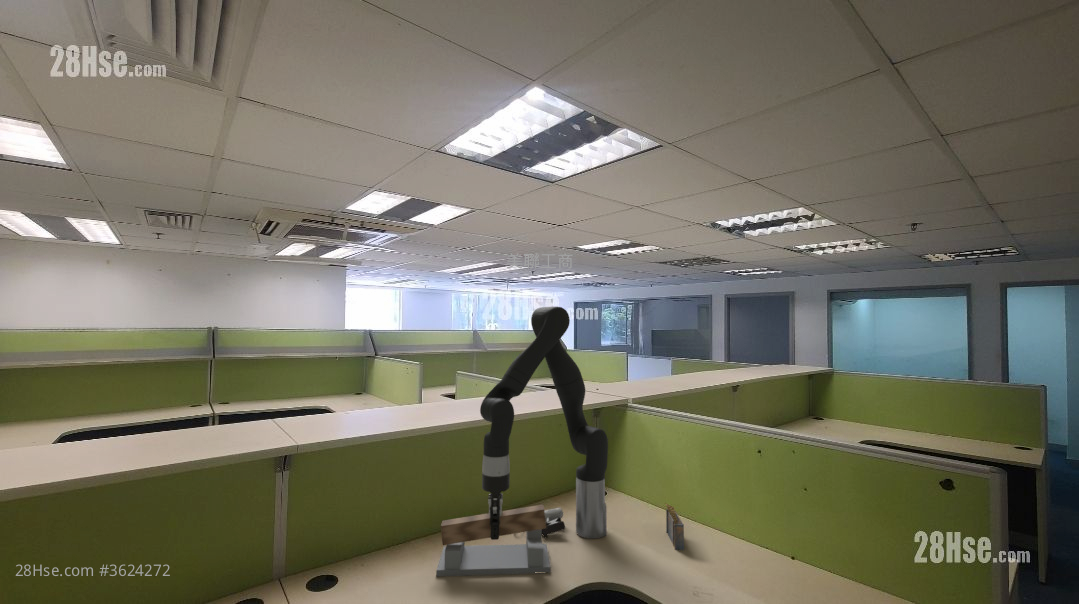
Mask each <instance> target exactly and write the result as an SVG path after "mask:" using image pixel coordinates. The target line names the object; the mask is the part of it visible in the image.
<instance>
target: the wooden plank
mask: <svg viewBox="0 0 1079 604" xmlns="http://www.w3.org/2000/svg"><path fill="white" fill-rule="evenodd" d="M544 510H545V507H544V504H537V505H531V506H526V507H518V508H514V509H513V508H512V509H507V510H502V514H501V516H500V525H499V537H502V536H509V535H513V534H519V533H520V534H521V533H526V532H527V531H533V530H539V529H545V528H546V520H545V512H544ZM492 520H497V519H492ZM440 532H441V533H440V534H441V541H442V546H447V545H448V544H454V543H460V542H465V543H466V542H471V541H477V540H484V539H489V538H490V539H491V526H490V516H489V512H488V513H482V514H477V515H470V516H463V517H456V518H451V519H446V520H445V519H444V520H442V522H441V524H440Z"/></svg>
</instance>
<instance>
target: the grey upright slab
mask: <svg viewBox="0 0 1079 604" xmlns="http://www.w3.org/2000/svg"><path fill="white" fill-rule="evenodd" d="M664 504H665V506H666V507H667V508H666V509H665V510H666V511H665V516H666V518H665V519H666V531H665V532H666V533H667V537H668V539H669V540H670V542H671V543H672V547H673V548H674V550H677V551H685V536H684V535H685V531H684V528H685V527H684V523H683V521H682V520H681V517H680V516H679V514H678V513H677V512H676V510H675V507H674V506H672V505H669V504H668V503H666V502H664Z"/></svg>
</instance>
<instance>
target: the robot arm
mask: <svg viewBox="0 0 1079 604" xmlns="http://www.w3.org/2000/svg"><path fill="white" fill-rule="evenodd" d="M530 320H531V321H530V323H531V327H532V331H533V333H534V335H535V338H534V340H533V341H532V342H531V343H530V344H529V345H528V346H527V347H526V348H525V349H524V350H522V352H521V353H520V354H519V355H517V356H516V358H515V359H514V360H513V361H512V362H511V364H509V366H508V368H507V370H506V372H505V373H504V374H503V376H502V378H501V380H500V381H499V382H498V383H496V385H494V387H493V388H491V390H490V391H489V392H488V393H487V394H486V396H485V397H484V399H483V400H482V402H481V405H480V410H479V411H480V416H481V418H482V419H483V420H484V421H486V422H489V423H491V424H490V430H489V431H488V432H487V433H485V434H484V436H483V457H482V462H481V463H482V464H481V466H482V471H481V472H482V473H481V476H482V477H481V478H482V479H481V488H482V490H483V491H485V492H488V498H487V504H488V513H489V516H490V526H491V538H490V540H492V541H494V540H495V541H497V540H499V538H500V536H499V525H500V516H501V514H502V511H503V510H502V509H503V502H504V501H503V499H504V494H503V493H502V492H506V491H508V490H509V488H510V482H511V481H510V477H511V476H510V474H511V473H510V471H511V470H510V469H511V466H510V463H511V462H510V461H511V460H510V438H511V437H510V436H511V433H512V430H513V429H512V428H513V425H514V420H515V409H514V405H513V404H512V402H511V400H512V399H513V398H516V397H519V396H520V395H521V394H522V393H523V391H524V390H525V388H526V387H527V385H528V383H529V382H530V380H531V378H532V377H533V375H534V373H535V372H536V370H537V368H538V367H539V366H540V364H542V362H543V360H544V359H545V361H546V364H547V367H548V369H549V372H550V374H551V375H550V376H551V379H552V382H553V385H554V388H555V391H556V394H557V397H558V399H559V401H560V405H561V409H562V411H563V415H564V418H565V422H566V427H567V431H568V435H569V440H570V443H571V446H572V448H573V449H574V450H575V452H576V453H579V454H581V455H584V456H585V463H584V464H581V465H579V466H577V467H576V469H575V470H576V473H575V533H576V534H577V535H578V536H580V537H582V538H585V539H594V540H595V539H599V538H603V537H607V532H608V531H607V526H608V525H607V524H608V523H607V518H608V517H607V503H606V499H605V498H606V483H605V482H606V481H605V480H606V479H605V478H606V471H607V468H608V455H609V438H608V435H607V433H606V432H605V430H604V429H601V428H599V427H596V426H591V425H589V424H588V422H587V420H586V417H585V414H584V410H583V407H584V406H583V405H584V403H585V402H584V401H585V397H586V386H585V382H584V379H583V376H582V372H581V371H580V370H581V369H580V368H579V366H578V365H577V362H575V361H574V359H573V358H572V357H571V356H570V354H569V353H568V352H567V350H566V349H565V348H564V346H563V345H562V343H561V338H562V337H563V336H564V335H565V334H566V332H567V330H568V329H569V326H570V316H569V313H568V311H567V310H566V308H563V307H562V306H545V307H544V306H543V307H542V306H541V307H538V308H536V309H534V311H533V312H532V314H531V318H530ZM492 519H497V520H492Z"/></svg>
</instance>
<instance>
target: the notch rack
mask: <svg viewBox="0 0 1079 604" xmlns="http://www.w3.org/2000/svg"><path fill="white" fill-rule="evenodd" d="M525 535H526V536H525V537H526V539H525V540H526V543H523V544H522V543H521V544H518V543H517V544H487V545H486V544H484V545H483V544H481V545H480V544H479V545H477V544H476V545H465V543H466V542H460V543H454V544H448V545H443V546H442V547H443V548H442V551H441V555H440V558H439V560H438V564H437V567H436V571H435V573H436V575H435V576H436V577H454V576H456V577H457V576H459V577H460V576H489V575H490V576H492V575H498V576H499V575H521V574H522V575H527V574H526V573H533V574H536V573H535V572H552V571H551V569H552V567H551V561H550V554H549V550H548V545H547V543H543V538H542V537H543V535H542V529H539V530H533V531H527V532H525Z"/></svg>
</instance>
